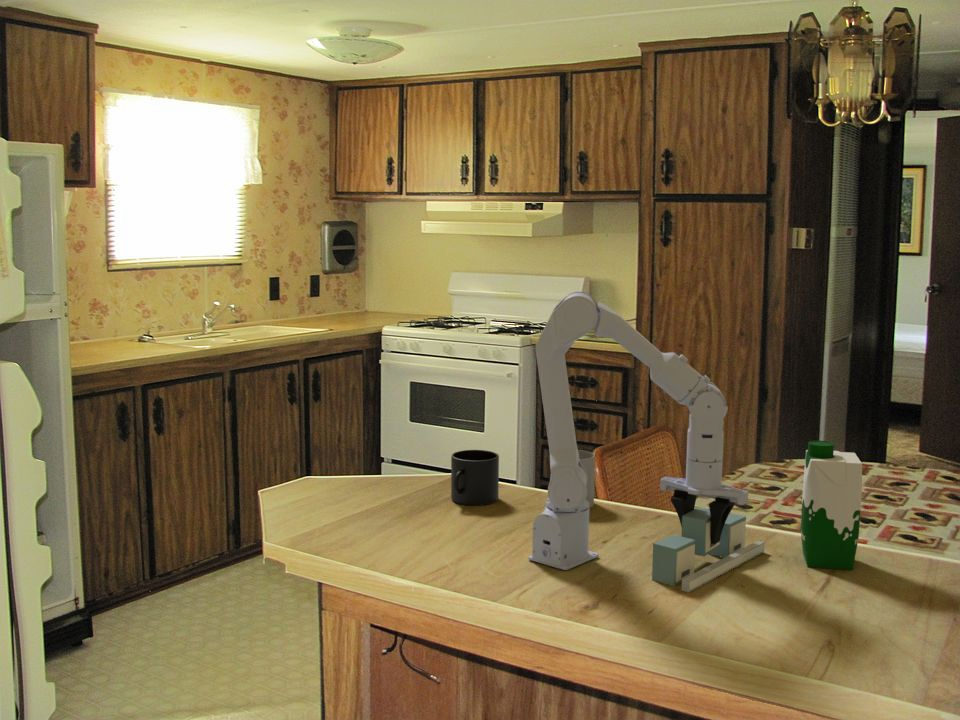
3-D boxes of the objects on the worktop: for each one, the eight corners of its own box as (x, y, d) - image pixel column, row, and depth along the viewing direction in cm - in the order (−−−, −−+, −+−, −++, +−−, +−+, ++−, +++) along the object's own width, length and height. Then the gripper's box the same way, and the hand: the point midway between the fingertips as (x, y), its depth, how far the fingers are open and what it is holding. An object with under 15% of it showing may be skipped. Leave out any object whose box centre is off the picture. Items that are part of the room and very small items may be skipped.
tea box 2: (705, 556, 165) (706, 520, 164) (681, 551, 168) (682, 516, 167) (720, 547, 170) (722, 511, 169) (696, 541, 173) (698, 507, 172)
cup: (595, 510, 199) (596, 460, 197) (552, 510, 199) (553, 459, 197) (591, 498, 207) (592, 449, 206) (550, 497, 207) (551, 449, 206)
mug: (434, 504, 202) (434, 459, 201) (468, 490, 212) (468, 447, 211) (474, 512, 197) (475, 466, 196) (507, 497, 207) (507, 453, 206)
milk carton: (796, 551, 176) (803, 436, 173) (852, 555, 174) (859, 439, 171) (801, 568, 168) (808, 448, 165) (860, 572, 166) (868, 451, 163)
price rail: (689, 592, 157) (689, 581, 156) (681, 590, 158) (681, 579, 157) (764, 552, 175) (765, 542, 175) (757, 550, 176) (757, 540, 176)
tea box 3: (728, 559, 172) (730, 524, 171) (706, 553, 175) (707, 519, 174) (745, 550, 176) (747, 516, 175) (723, 545, 179) (724, 511, 178)
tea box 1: (675, 586, 159) (676, 549, 158) (651, 580, 162) (653, 543, 161) (695, 576, 164) (696, 540, 163) (672, 570, 167) (673, 534, 166)
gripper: (652, 456, 168) (650, 536, 170) (737, 470, 159) (733, 554, 161) (672, 448, 173) (669, 526, 175) (754, 461, 165) (751, 543, 167)
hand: (701, 539), depth 169 cm, fingers closed on tea box 2, 4 cm apart
